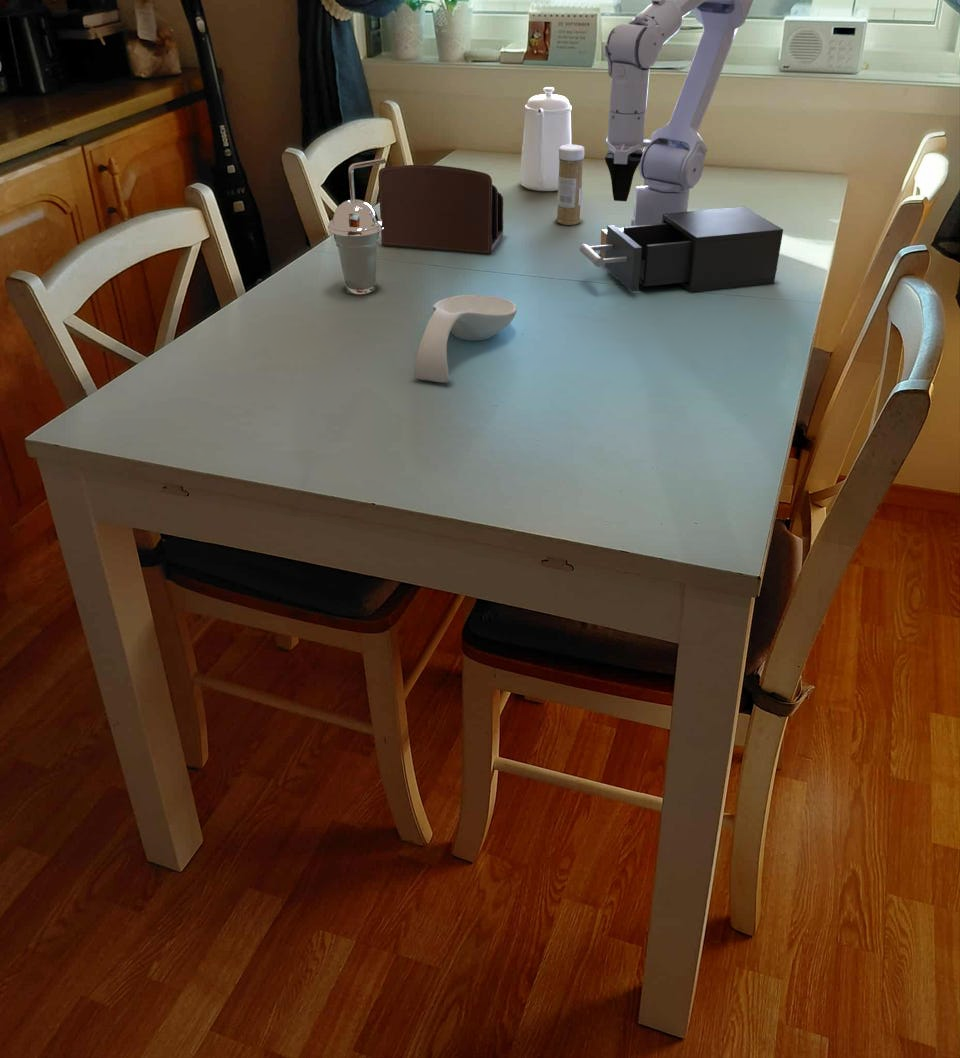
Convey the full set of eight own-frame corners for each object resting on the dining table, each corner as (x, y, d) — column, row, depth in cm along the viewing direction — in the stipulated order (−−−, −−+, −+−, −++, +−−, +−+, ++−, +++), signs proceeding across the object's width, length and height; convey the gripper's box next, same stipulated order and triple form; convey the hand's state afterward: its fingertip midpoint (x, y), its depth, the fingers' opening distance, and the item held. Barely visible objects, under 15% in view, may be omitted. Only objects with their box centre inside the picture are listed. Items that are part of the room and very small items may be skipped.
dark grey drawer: (598, 295, 149) (601, 251, 145) (573, 270, 158) (575, 228, 154) (711, 283, 153) (717, 240, 149) (680, 259, 162) (685, 218, 158)
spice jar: (585, 222, 182) (589, 146, 174) (569, 227, 179) (572, 151, 172) (567, 216, 185) (570, 142, 177) (550, 222, 182) (553, 146, 174)
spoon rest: (450, 312, 146) (449, 265, 142) (526, 321, 143) (527, 273, 139) (390, 378, 128) (387, 326, 124) (475, 390, 125) (475, 337, 121)
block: (608, 263, 163) (610, 237, 161) (599, 255, 167) (601, 229, 164) (633, 261, 164) (635, 235, 162) (623, 253, 168) (625, 227, 165)
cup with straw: (355, 276, 159) (345, 147, 148) (401, 286, 155) (394, 155, 144) (322, 292, 153) (309, 160, 142) (369, 303, 149) (359, 168, 138)
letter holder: (491, 255, 167) (491, 170, 159) (380, 246, 171) (375, 163, 163) (503, 237, 175) (504, 155, 167) (398, 229, 179) (393, 149, 171)
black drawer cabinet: (689, 292, 152) (696, 237, 148) (657, 265, 162) (662, 213, 158) (774, 283, 155) (783, 229, 151) (737, 257, 166) (744, 206, 161)
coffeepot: (508, 201, 193) (510, 99, 182) (529, 169, 213) (531, 75, 202) (563, 204, 191) (567, 101, 180) (578, 171, 211) (583, 77, 201)
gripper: (650, 121, 146) (642, 213, 153) (656, 101, 157) (648, 188, 165) (602, 119, 147) (597, 210, 155) (612, 100, 159) (606, 185, 166)
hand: (620, 199), depth 160 cm, fingers closed
